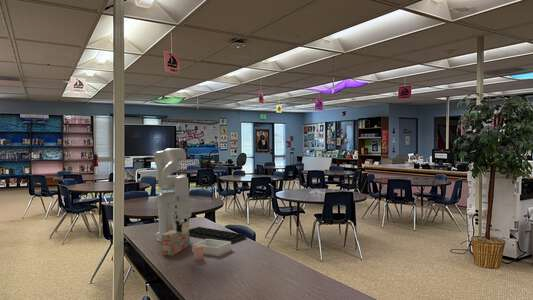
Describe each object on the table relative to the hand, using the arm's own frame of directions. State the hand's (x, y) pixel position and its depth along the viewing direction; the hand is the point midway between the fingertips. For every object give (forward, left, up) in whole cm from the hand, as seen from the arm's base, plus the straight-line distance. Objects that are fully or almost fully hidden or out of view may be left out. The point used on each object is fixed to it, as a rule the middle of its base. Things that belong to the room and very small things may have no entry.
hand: (182, 230), depth 206 cm
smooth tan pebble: (+11, 0, -15) cm, 19 cm away
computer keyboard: (-11, +44, -16) cm, 48 cm away
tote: (+9, +15, -15) cm, 23 cm away
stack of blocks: (-12, +9, -16) cm, 22 cm away
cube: (0, 0, -1) cm, 1 cm away
